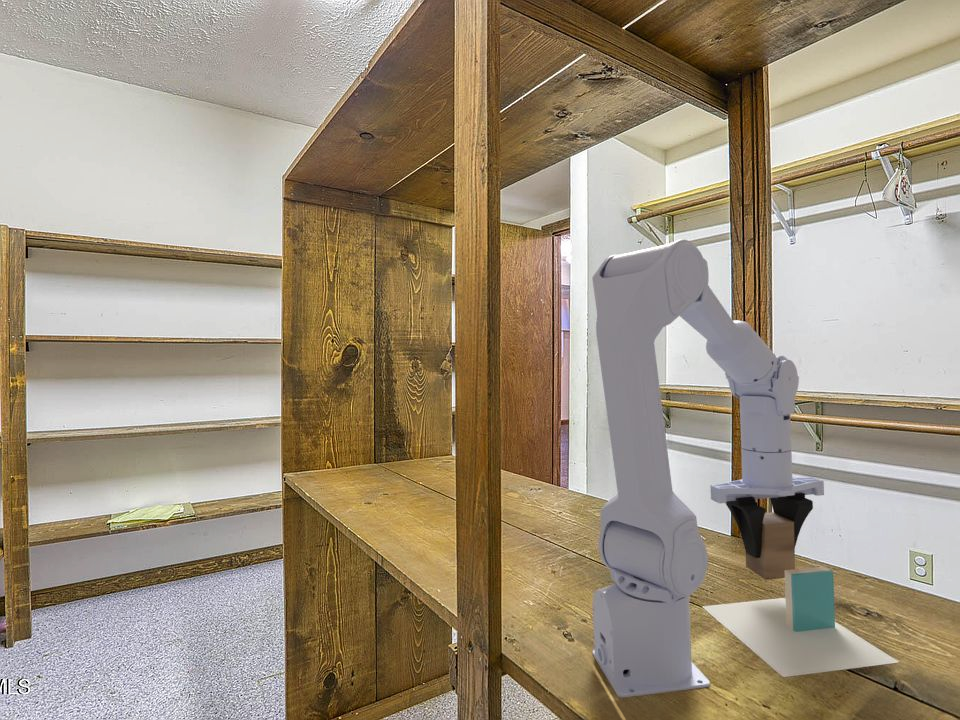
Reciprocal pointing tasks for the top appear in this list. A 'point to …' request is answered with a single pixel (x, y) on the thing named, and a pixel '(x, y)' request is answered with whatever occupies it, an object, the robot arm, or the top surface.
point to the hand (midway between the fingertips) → (769, 553)
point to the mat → (795, 640)
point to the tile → (809, 599)
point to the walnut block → (774, 548)
